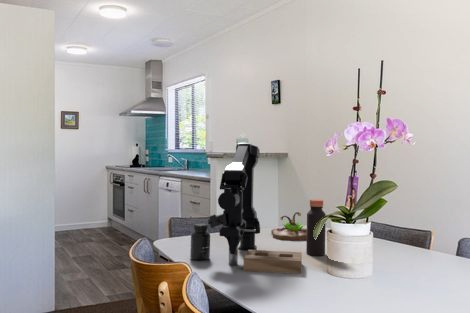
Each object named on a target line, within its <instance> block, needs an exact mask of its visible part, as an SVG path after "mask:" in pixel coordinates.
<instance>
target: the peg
mask: <svg viewBox="0 0 470 313" xmlns="http://www.w3.org/2000/svg"><path fill="white" fill-rule="evenodd" d="M238 247H239V245H237V248H236V251H235V253H234V254H231V253H230V249H229V248H228V265H232V266H233V265H234V266H235V265H238V264H239V262H238V261H239V260H238V259H239V257H238V256H239V249H238Z"/></svg>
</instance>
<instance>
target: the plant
mask: <svg viewBox="0 0 470 313" xmlns="http://www.w3.org/2000/svg"><path fill="white" fill-rule="evenodd" d="M296 215H297V216H299V217H301V216H302V213H301V212H299V211H297V212H295V213H294V214H293V216H292V219H291V218H290V217H289V216H288V215H282V216H281V217H280V221H283V220H284V218H287V220H288V222H286V221H285V223H284V224H283V227H279V228H273V229H271V230H270V231H271V233H270V234H271V236H272V238H273V239H276V240H278V241H279V240H280V241H293V242H294V241H295V242H297V241H307V228H303V227H304V226H305V224H302V222H296Z"/></svg>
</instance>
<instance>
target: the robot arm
mask: <svg viewBox="0 0 470 313" xmlns="http://www.w3.org/2000/svg"><path fill="white" fill-rule="evenodd" d="M259 158H260V148H259V146H256V145H253V144H252V143H249V142H238V143H236V145H235V154H234V156H233V159H232V162H231V163H230V164H228V165H227V166H226V167H225V168H224V171H223V172H222V173H221V180H220V185H219V190H222V191H223V192H222V193H221V194H220V195H219V196H218V199H217V203H218V206H219V207H220V208H221V210H223V212H222V213H220V214H218V215H216V214H215V213H214V214H213V215H210V216H209V218H208V219H207V225H209V227H210V229H213V228H214V229H215V227H217V226H220V225H222V226H221V228H220V229H219V233H218V234H219V237H224V238H225V239H226V241H227V244H228V250H229V249H230V253H231V254H234V253H235V251H236V248H237V245H238V250H242V251H243V250H246V251H248V250H257V248H258V246H257V245H256V235H258V234H260V233H261V224H260V221H259V217H258V214H257V211H256V210H255V208H254V170H255V167H256V166H257V164H258V162H259Z"/></svg>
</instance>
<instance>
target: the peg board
mask: <svg viewBox="0 0 470 313" xmlns="http://www.w3.org/2000/svg"><path fill="white" fill-rule="evenodd" d="M302 253H303V252H301V251H283V250H282V251H281V250H265V249H264V250H262V249H261V250H260V249H255V250H247V252H246V254H245V255H244V257H243V271H244V272H245V271H246V272H247V271H249V272H260V273H261V272H264V273H278V274H279V273H280V274H281V273H282V274H286V273H287V274H298V275H299V274H300V275H302V262H303V261H302V260H303V259H302V256H303V254H302Z"/></svg>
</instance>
